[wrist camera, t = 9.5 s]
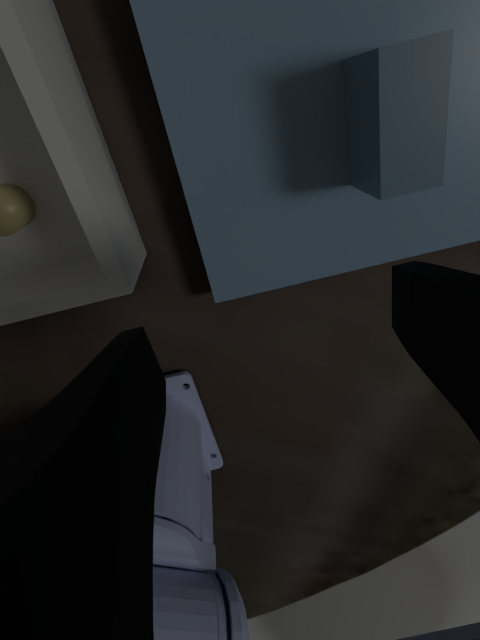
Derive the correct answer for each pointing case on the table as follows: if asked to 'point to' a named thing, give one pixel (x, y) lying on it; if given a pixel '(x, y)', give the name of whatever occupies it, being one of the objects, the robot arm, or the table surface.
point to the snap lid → (318, 131)
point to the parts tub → (55, 178)
